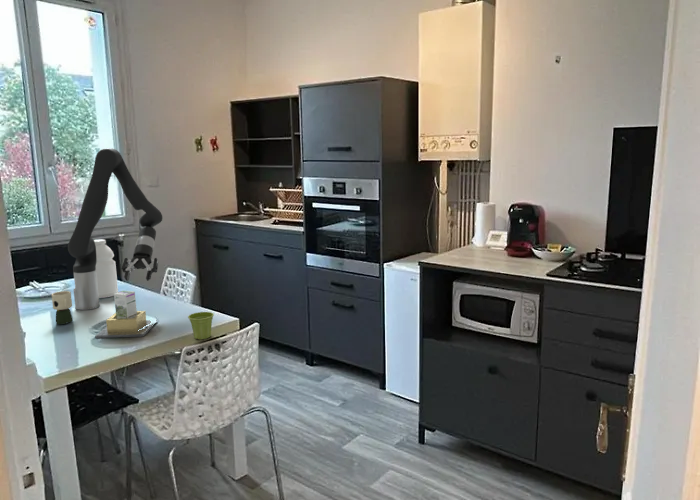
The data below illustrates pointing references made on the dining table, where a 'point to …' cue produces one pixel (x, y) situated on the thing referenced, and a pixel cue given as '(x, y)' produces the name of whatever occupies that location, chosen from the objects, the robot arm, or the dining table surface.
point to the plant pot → (201, 324)
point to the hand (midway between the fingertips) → (137, 279)
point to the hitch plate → (125, 326)
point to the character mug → (62, 306)
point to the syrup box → (125, 304)
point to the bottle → (105, 270)
